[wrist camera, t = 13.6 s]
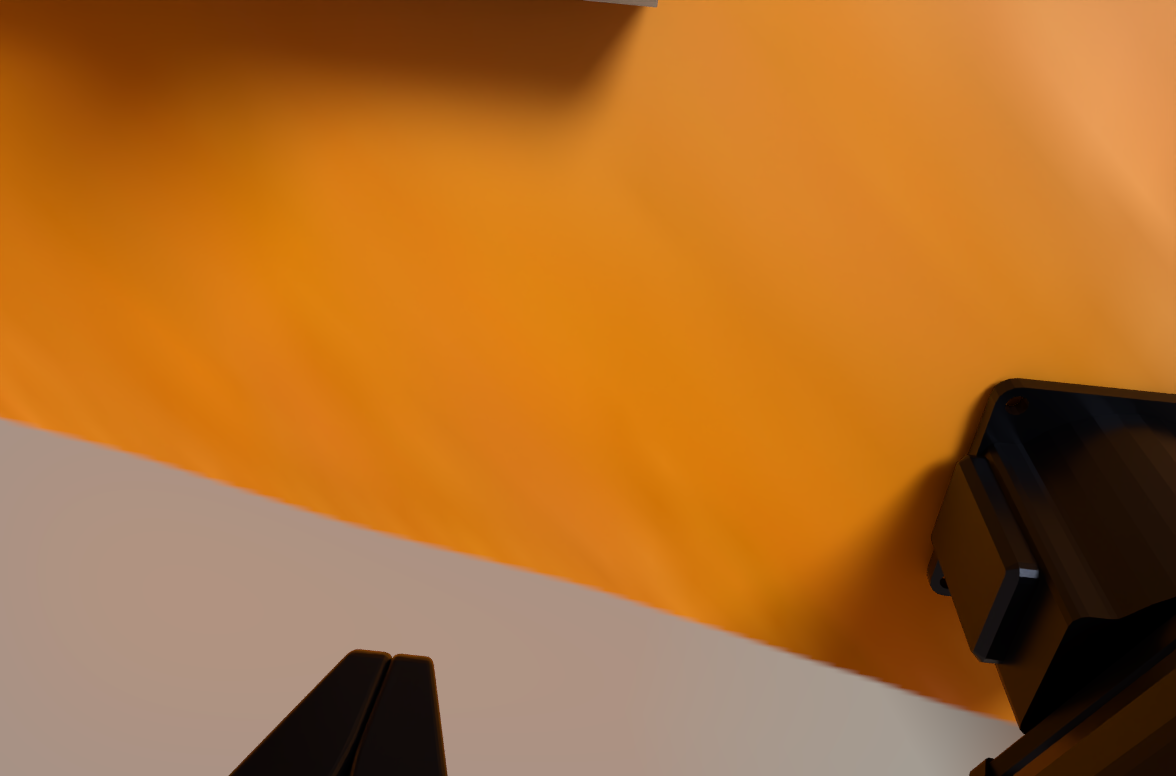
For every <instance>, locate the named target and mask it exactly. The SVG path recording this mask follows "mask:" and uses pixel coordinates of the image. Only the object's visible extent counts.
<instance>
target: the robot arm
mask: <svg viewBox="0 0 1176 776" xmlns="http://www.w3.org/2000/svg"><path fill="white" fill-rule="evenodd" d="M1018 396H1021V397H1023V398H1022V399H1021V401H1020V402H1019V403H1017V404H1015V405H1010V406H1007V405H1006V403H1007V402H1008V401H1009V400H1010V399H1012V398H1013V397H1018ZM931 541H932V543H933V546H934V552H933V554H932V557H931V560H930V563H929V565H928V568H927V577H928V580H929V583H930V586H931V588H932V590H933V591H935V592H936V593H937V594H940V595H944V596H951V597H952V599H953V602H954V605H955V608H956V611H957V613H958V616H959V619H960V622H961V625H962V628H963V630H964V633H965V636H966V639H967V642H968V644H969V647H970V650H971V652H972V653H973V654H974V655H975V657H976V658H977V659H978V660H979V662H986V663H995V665H996V668H997V671H998V673H999V676H1000V678H1001V681H1002V684H1003V686H1004V689H1005V692H1006V694H1007V697H1008V700H1009V702H1010V705H1011V707H1012V710H1013V713H1014V715H1015V718H1016V721H1017V723H1018V726H1019V729H1020V730H1021V731H1022V733H1023V734H1025V735H1024V736H1022V737H1021V738H1020V739H1019V740H1017V741H1016V742H1015V743H1014V744H1012V745H1011V746H1010V747H1009V748H1007V749H1006V750H1005V751H1004V752H1002V753H1001V754H1000V755H999V756H997V757H996V758H995V759H993V758H987V759H985V760H984V761H983V762H982V763H980V764H979V765H978V766H977V767H975V768H974V769H973V770H972V771H970V774H969V776H1176V394H1167V393H1157V392H1147V391H1138V390H1128V389H1118V388H1108V387H1099V386H1089V385H1079V384H1069V383H1060V382H1050V381H1040V380H1031V379H1021V378H1014V379H1008V380H1005V381H1003V382H1001V383H999V384H998V385H997V386H996V387H994V389H993V390H992V392H991V394H990V396H989V399H988V402H987V404H986V407H985V410H984V413H983V415H982V418H981V421H980V424H979V427H978V429H977V432H976V435H975V438H974V440H973V443H972V446H971V449H970V452H969V454H968V455H966V456H964V457H963V458H962V459H961V460H960V461H959V462H957V464H956V467H955V470H954V472H953V475H952V478H951V481H950V484H949V487H948V489H947V492H946V495H945V498H944V501H943V504H942V506H941V509H940V512H939V515H938V518H937V520H936V523H935V526H934V529H933V532H932V535H931ZM942 577H945V578H942ZM229 776H447V768H446V759H445V751H444V743H443V735H442V727H441V719H440V712H439V703H438V695H437V687H436V679H435V671H434V664H433V661H432V659H431V658H429V657H426V656H417V655H408V654H397V655H395V656H394V657H393V658H392V656H391V655H390V654H389V653H386V652H380V651H370V650H362V649H356V650H353V651H351V652H349V653H348V654H347V655H346V656H345V657H344V658H343V659H342V660H341V661H340V662H339V663H338V664H337V665H336V666H335V667H334V668H333V669H332V670H331V671H330V672H329V673H328V674H327V675H326V676H325V677H324V678H323V679H322V680H321V682H319V684H318V685H317V686H316V687H315V688H314V689H313V690H312V691H311V692H310V693H309V694H308V695H307V696H306V697H305V698H304V699H303V700H302V701H301V702H300V703H299V704H298V705H297V706H296V707H295V708H294V709H293V710H292V711H291V712H290V713H289V714H288V715H287V717H285V718H284V719H283V720H282V721H281V722H280V724H278V726H277V727H276V728H275V729H274V730H273V731H272V732H271V733H270V734H269V735H268V736H267V737H266V738H265V739H264V740H263V741H262V742H261V743H260V744H259V745H258V746H257V747H256V748H255V749H254V750H253V751H252V752H251V753H250V754H249V755H248V756H247V757H246V758H245V759H244V760H243V761H242V762H241V764H240V765H238V767H237V768H236V769H235V770H234V771H233V772H232V773H231V774H230V775H229Z"/></svg>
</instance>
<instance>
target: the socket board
mask: <svg viewBox="0 0 1176 776" xmlns="http://www.w3.org/2000/svg"><path fill="white" fill-rule="evenodd" d="M585 1H596V2H606V3H617V4H627V5H637V6H648V7H657V3H658V0H585Z"/></svg>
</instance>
